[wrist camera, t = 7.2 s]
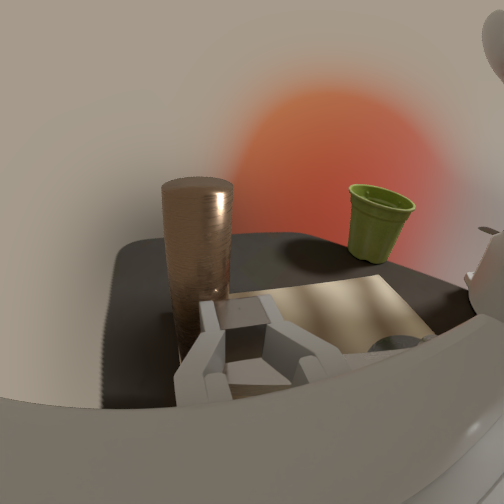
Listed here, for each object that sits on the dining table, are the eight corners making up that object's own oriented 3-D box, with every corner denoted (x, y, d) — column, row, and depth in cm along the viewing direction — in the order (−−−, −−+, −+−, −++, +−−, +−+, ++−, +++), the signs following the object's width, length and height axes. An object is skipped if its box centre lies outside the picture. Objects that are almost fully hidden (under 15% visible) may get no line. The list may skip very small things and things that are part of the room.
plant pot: (409, 265, 35) (428, 208, 30) (365, 277, 31) (384, 210, 27) (369, 235, 42) (381, 185, 38) (323, 241, 39) (334, 183, 35)
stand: (374, 285, 30) (379, 273, 29) (483, 415, 13) (494, 403, 12) (176, 311, 24) (174, 296, 23) (218, 544, 8) (217, 545, 7)
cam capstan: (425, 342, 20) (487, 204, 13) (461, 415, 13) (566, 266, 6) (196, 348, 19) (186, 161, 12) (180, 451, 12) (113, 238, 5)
